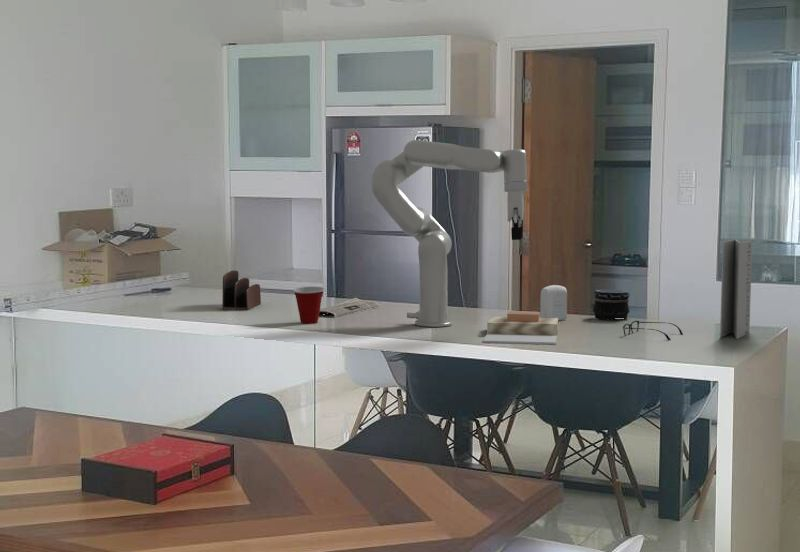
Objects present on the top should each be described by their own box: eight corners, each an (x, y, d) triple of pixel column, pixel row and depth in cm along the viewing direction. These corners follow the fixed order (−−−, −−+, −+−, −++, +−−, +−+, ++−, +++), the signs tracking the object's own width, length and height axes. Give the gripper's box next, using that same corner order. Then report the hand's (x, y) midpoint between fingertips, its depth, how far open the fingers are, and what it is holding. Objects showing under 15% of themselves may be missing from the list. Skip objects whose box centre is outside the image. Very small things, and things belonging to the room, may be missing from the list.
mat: (483, 342, 326) (483, 340, 325) (486, 335, 339) (486, 333, 339) (556, 344, 322) (556, 342, 322) (557, 337, 336) (557, 335, 336)
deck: (487, 335, 341) (487, 322, 340) (490, 328, 354) (490, 316, 354) (557, 336, 337) (557, 324, 337) (557, 330, 351) (558, 318, 351)
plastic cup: (287, 324, 366) (287, 289, 365) (302, 319, 376) (301, 286, 375) (316, 325, 362) (315, 290, 361) (329, 321, 372) (329, 287, 371)
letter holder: (222, 310, 403) (221, 273, 401) (236, 304, 422) (236, 268, 421) (248, 311, 402) (247, 273, 400) (261, 304, 421) (260, 268, 420)
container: (613, 315, 388) (614, 288, 387) (637, 319, 377) (637, 291, 376) (585, 317, 382) (585, 289, 381) (607, 322, 371) (608, 293, 370)
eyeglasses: (637, 331, 351) (637, 319, 351) (685, 335, 343) (685, 322, 343) (620, 338, 337) (620, 325, 337) (669, 342, 329) (670, 329, 329)
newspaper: (334, 318, 382) (334, 309, 381) (305, 316, 387) (304, 307, 387) (381, 307, 413) (381, 298, 413) (352, 306, 419) (352, 297, 418)
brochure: (737, 338, 333) (740, 242, 330) (719, 337, 336) (722, 241, 333) (749, 332, 345) (752, 240, 342) (732, 331, 348) (734, 239, 345)
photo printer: (560, 318, 379) (560, 283, 378) (568, 320, 376) (569, 284, 375) (538, 320, 374) (538, 285, 373) (546, 322, 370) (546, 286, 369)
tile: (507, 321, 343) (507, 313, 343) (508, 318, 350) (508, 311, 350) (538, 322, 342) (538, 314, 341) (539, 319, 349) (539, 311, 348)
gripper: (505, 187, 362) (507, 237, 364) (502, 187, 345) (504, 240, 347) (528, 186, 361) (529, 237, 363) (526, 186, 344) (527, 240, 346)
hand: (517, 238), depth 355 cm, fingers open, 9 cm apart
